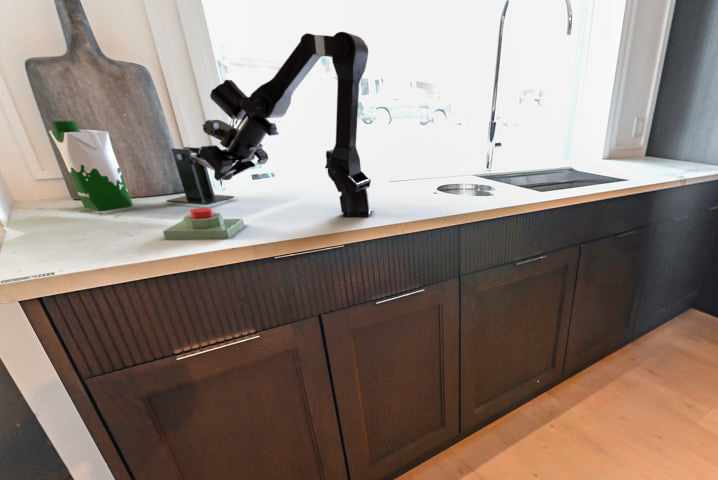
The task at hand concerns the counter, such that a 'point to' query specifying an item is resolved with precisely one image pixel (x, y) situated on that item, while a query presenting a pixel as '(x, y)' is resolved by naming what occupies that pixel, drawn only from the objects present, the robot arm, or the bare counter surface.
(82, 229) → the counter surface
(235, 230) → the button block
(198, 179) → the bracket
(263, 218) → the counter surface
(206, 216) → the button
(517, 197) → the counter surface
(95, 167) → the milk carton
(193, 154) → the lever
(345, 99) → the robot arm
